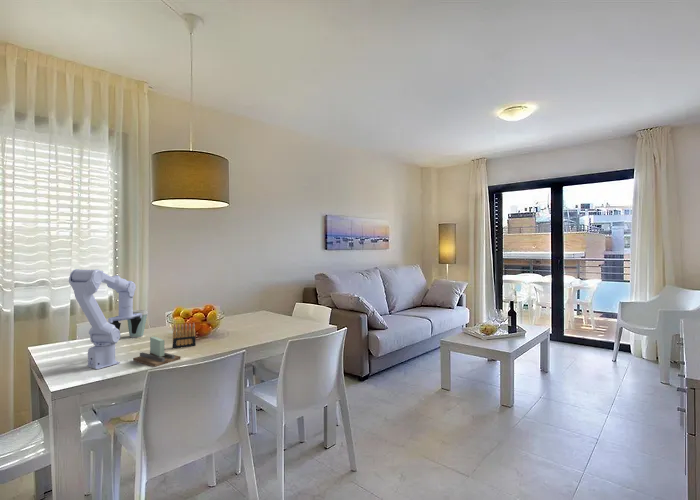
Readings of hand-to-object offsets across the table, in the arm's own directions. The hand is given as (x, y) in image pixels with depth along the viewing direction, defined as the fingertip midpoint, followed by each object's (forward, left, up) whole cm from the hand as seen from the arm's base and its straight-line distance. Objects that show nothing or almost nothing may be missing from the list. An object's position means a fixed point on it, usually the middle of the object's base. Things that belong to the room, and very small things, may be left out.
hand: (125, 335), depth 170 cm
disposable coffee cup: (+23, +29, -10) cm, 38 cm away
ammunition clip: (+23, -11, -10) cm, 27 cm away
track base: (+3, -19, -9) cm, 21 cm away
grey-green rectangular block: (+3, -19, -7) cm, 20 cm away
